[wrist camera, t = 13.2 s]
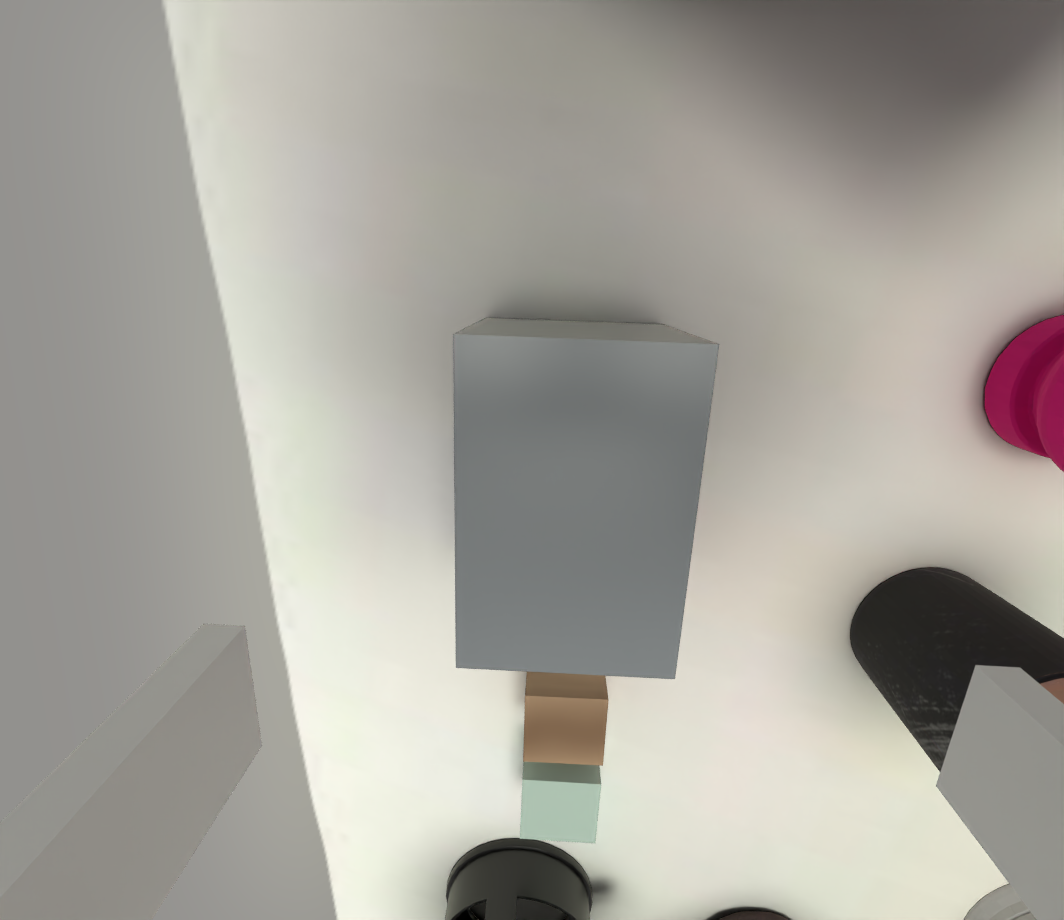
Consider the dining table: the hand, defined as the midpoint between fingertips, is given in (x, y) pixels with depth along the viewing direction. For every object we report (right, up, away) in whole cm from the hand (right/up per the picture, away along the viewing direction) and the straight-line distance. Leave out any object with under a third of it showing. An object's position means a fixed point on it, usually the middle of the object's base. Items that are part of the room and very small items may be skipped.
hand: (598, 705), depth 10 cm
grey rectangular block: (0, +5, +17) cm, 18 cm away
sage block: (0, -13, +23) cm, 26 cm away
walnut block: (+1, -8, +21) cm, 22 cm away
